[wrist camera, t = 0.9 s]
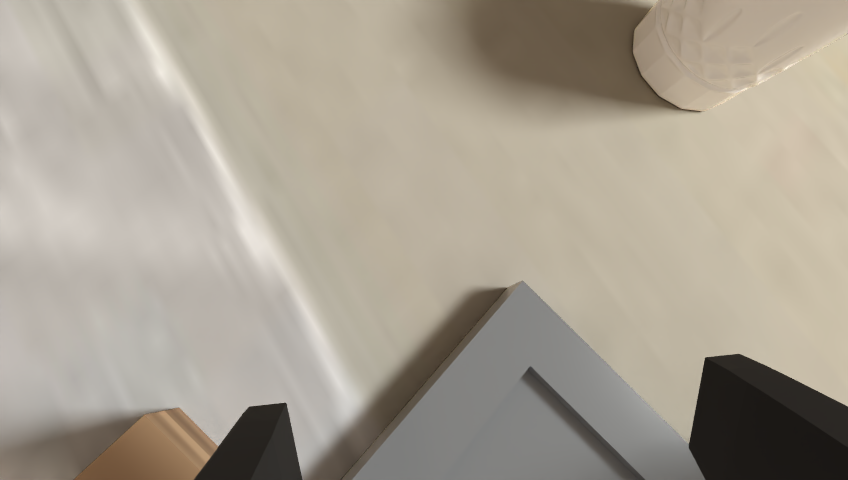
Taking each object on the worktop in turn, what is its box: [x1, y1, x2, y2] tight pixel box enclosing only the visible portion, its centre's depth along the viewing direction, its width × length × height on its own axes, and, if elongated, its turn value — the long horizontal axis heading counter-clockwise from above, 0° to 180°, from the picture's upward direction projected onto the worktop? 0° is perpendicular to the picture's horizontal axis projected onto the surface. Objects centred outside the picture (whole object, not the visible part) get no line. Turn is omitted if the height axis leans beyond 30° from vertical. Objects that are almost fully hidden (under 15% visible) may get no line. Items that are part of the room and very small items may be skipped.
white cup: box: [633, 0, 848, 111], centre depth 25 cm, size 8×8×10 cm
